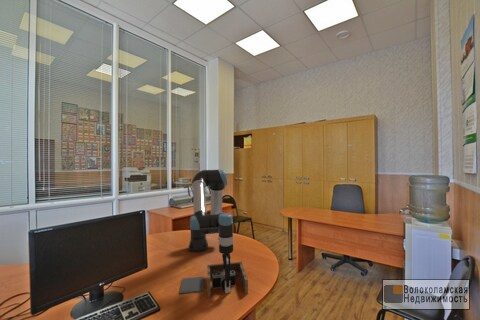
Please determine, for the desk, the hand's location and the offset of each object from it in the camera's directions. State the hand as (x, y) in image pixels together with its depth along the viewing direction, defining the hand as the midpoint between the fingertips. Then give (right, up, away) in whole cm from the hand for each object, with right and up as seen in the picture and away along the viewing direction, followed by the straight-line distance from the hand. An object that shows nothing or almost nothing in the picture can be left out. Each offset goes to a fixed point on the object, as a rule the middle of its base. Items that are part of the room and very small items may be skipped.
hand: (226, 287), depth 113 cm
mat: (-19, -1, +3) cm, 19 cm away
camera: (-1, -1, 0) cm, 1 cm away
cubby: (-1, 0, +3) cm, 3 cm away
